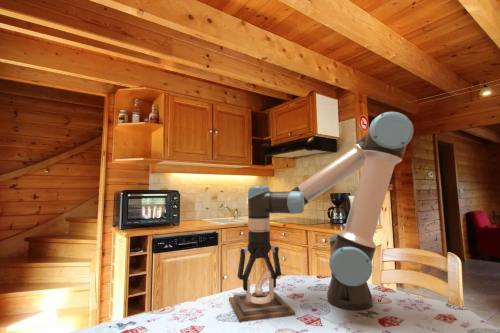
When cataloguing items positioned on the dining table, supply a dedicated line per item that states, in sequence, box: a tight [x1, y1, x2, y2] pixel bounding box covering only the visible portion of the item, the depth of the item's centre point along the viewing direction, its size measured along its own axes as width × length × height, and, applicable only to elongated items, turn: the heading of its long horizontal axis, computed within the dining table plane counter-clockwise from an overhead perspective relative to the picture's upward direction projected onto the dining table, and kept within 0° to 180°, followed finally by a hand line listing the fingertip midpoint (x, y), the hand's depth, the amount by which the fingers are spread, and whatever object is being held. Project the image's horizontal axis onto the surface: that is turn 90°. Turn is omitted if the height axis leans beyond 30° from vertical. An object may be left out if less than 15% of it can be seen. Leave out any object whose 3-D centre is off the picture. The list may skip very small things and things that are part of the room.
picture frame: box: [228, 290, 296, 323], centre depth 92 cm, size 18×18×2 cm
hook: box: [250, 268, 271, 304], centre depth 92 cm, size 8×12×7 cm
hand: (259, 298), depth 92 cm, fingers closed on hook, 8 cm apart
